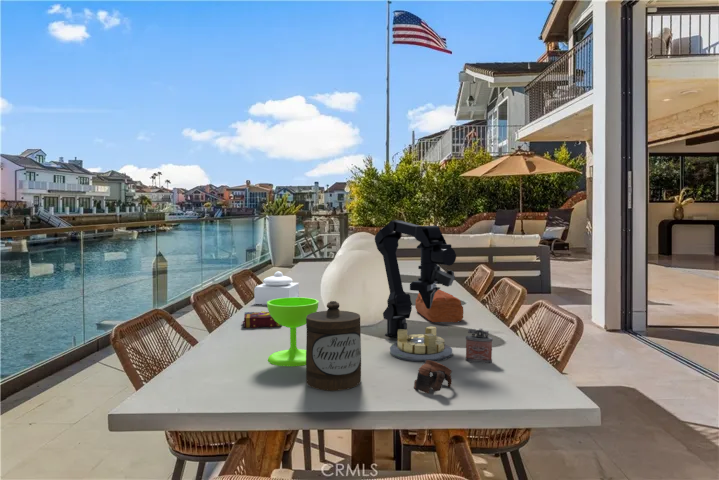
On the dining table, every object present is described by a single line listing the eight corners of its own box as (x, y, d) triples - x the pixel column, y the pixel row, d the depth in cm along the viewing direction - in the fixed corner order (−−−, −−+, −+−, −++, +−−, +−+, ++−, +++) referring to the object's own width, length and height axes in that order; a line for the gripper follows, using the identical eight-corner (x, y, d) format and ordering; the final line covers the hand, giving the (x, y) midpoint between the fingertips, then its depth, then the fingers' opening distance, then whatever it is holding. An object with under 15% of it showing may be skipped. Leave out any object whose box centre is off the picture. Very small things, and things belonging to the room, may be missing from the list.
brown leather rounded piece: (406, 386, 138) (417, 357, 140) (437, 400, 139) (447, 371, 141) (422, 389, 126) (434, 358, 129) (455, 405, 128) (466, 373, 130)
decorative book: (282, 327, 206) (282, 315, 206) (240, 329, 203) (240, 316, 203) (281, 321, 217) (281, 309, 217) (242, 323, 214) (241, 311, 214)
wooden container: (316, 394, 130) (316, 308, 129) (299, 377, 144) (298, 298, 143) (370, 386, 136) (370, 303, 135) (348, 370, 150) (348, 295, 149)
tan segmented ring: (428, 356, 158) (428, 338, 157) (388, 348, 167) (388, 331, 167) (455, 345, 170) (455, 329, 170) (417, 338, 180) (417, 322, 180)
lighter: (492, 361, 159) (493, 328, 159) (491, 364, 156) (492, 331, 155) (466, 358, 162) (466, 327, 161) (464, 361, 159) (465, 329, 158)
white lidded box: (254, 304, 255) (254, 272, 254) (267, 298, 273) (266, 268, 272) (288, 305, 252) (288, 273, 251) (299, 299, 270) (299, 269, 269)
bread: (445, 310, 241) (446, 287, 240) (466, 322, 215) (466, 297, 214) (413, 311, 239) (413, 288, 238) (429, 323, 212) (430, 298, 212)
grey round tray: (378, 355, 165) (378, 342, 165) (407, 342, 182) (407, 330, 182) (437, 365, 154) (437, 351, 154) (461, 350, 171) (461, 337, 171)
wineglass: (277, 369, 151) (276, 308, 150) (261, 355, 165) (260, 299, 164) (327, 362, 158) (327, 303, 157) (307, 349, 172) (307, 295, 171)
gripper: (441, 266, 163) (440, 315, 164) (461, 261, 179) (460, 306, 180) (409, 264, 168) (408, 312, 169) (431, 260, 185) (430, 303, 185)
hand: (428, 308), depth 176 cm, fingers closed
